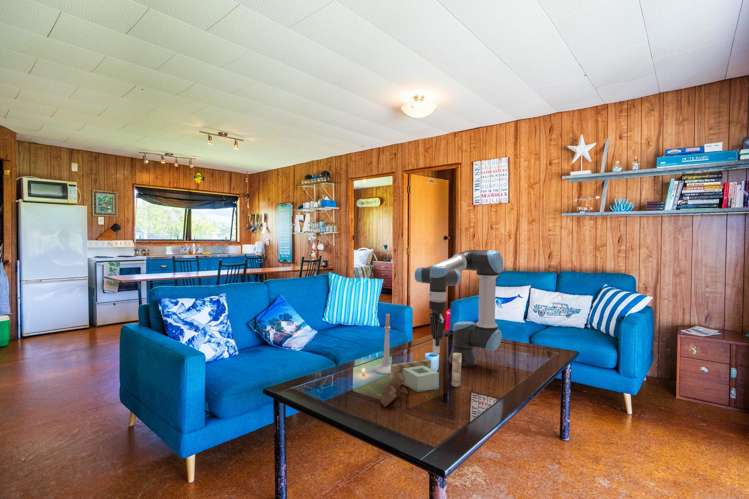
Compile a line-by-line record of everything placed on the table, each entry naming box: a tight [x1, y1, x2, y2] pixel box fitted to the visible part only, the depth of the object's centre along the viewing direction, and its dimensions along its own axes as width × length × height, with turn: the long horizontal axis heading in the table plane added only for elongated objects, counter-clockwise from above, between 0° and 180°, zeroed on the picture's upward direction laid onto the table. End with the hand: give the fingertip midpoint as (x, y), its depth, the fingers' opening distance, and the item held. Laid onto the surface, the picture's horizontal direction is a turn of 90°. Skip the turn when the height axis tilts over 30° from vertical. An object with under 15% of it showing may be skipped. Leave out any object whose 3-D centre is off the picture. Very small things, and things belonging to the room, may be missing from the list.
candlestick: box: [373, 313, 392, 375], centre depth 205 cm, size 13×13×30 cm
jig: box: [389, 358, 432, 382], centre depth 179 cm, size 22×21×10 cm
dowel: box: [451, 353, 462, 388], centre depth 183 cm, size 4×4×16 cm
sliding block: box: [401, 365, 440, 393], centre depth 181 cm, size 12×12×7 cm
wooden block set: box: [380, 373, 409, 408], centre depth 167 cm, size 18×9×10 cm
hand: (436, 352), depth 176 cm, fingers closed
